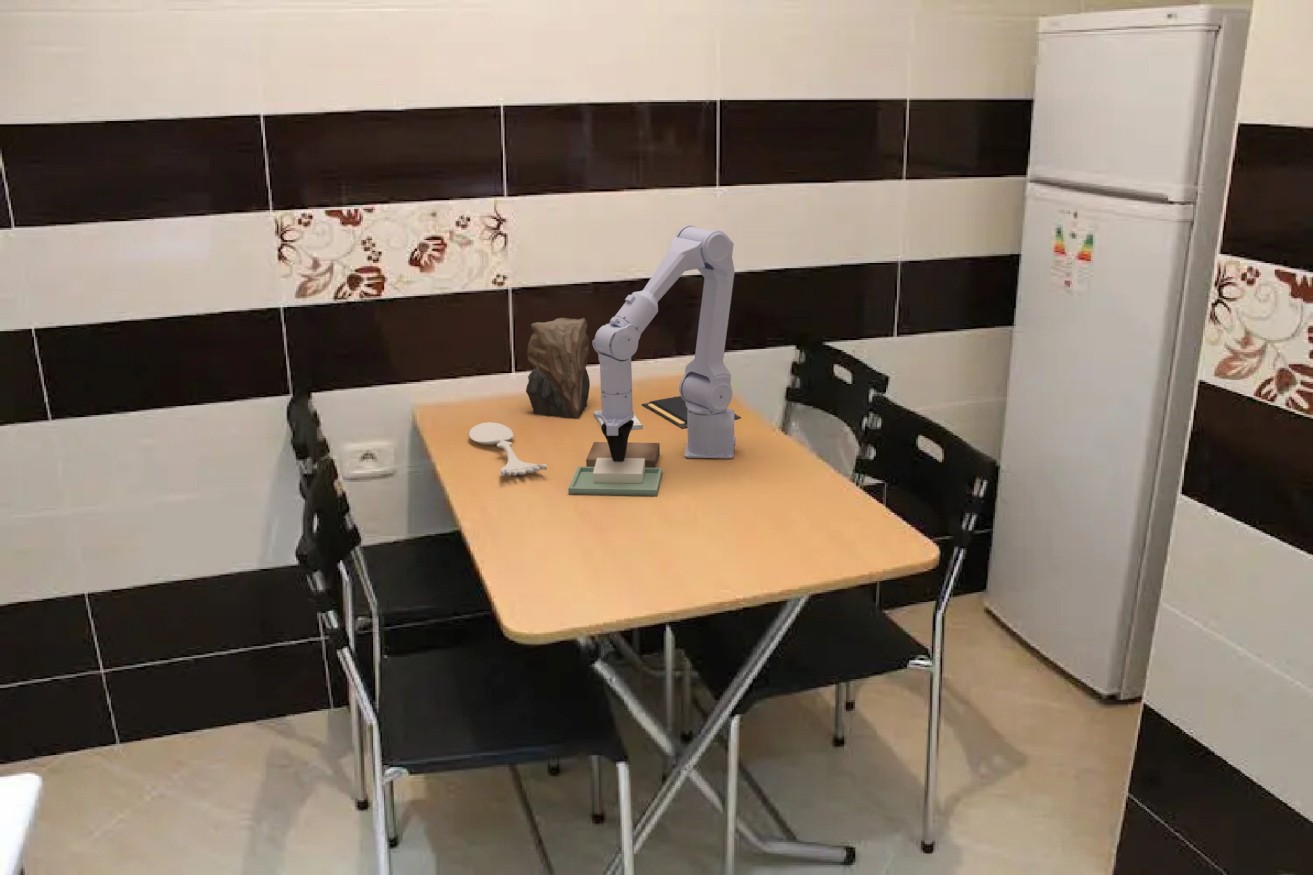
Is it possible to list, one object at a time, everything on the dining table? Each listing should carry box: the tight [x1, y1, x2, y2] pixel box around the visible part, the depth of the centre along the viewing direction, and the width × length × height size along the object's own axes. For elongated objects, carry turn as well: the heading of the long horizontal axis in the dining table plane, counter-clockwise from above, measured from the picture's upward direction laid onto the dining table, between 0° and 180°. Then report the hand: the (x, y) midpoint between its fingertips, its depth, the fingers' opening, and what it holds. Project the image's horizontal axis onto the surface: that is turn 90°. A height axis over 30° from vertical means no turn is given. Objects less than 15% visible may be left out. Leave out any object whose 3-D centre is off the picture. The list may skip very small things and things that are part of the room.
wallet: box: [640, 396, 742, 430], centre depth 247 cm, size 20×2×15 cm
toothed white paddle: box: [468, 422, 548, 477], centre depth 221 cm, size 9×32×4 cm, turn 22°
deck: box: [585, 441, 661, 468], centre depth 216 cm, size 13×10×2 cm
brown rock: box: [525, 317, 591, 420], centre depth 247 cm, size 13×13×20 cm
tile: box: [593, 458, 645, 483], centre depth 208 cm, size 9×6×2 cm, turn 85°
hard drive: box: [593, 409, 644, 431], centre depth 241 cm, size 2×8×12 cm
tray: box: [567, 465, 664, 497], centre depth 206 cm, size 16×11×1 cm
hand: (618, 459), depth 209 cm, fingers closed
